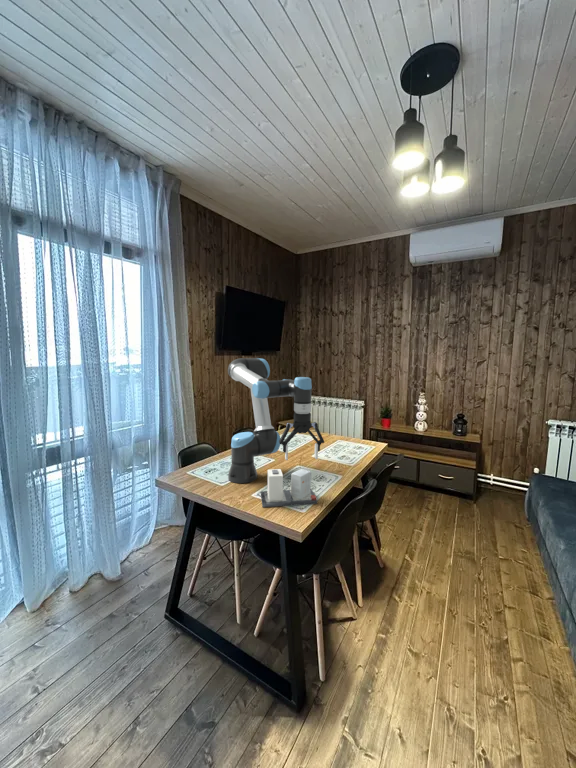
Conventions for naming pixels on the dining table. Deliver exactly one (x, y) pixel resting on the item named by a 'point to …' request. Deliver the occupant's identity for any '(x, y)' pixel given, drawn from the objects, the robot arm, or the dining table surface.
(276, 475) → the twin plug
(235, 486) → the dining table surface
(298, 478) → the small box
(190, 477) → the dining table surface
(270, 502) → the strip board
